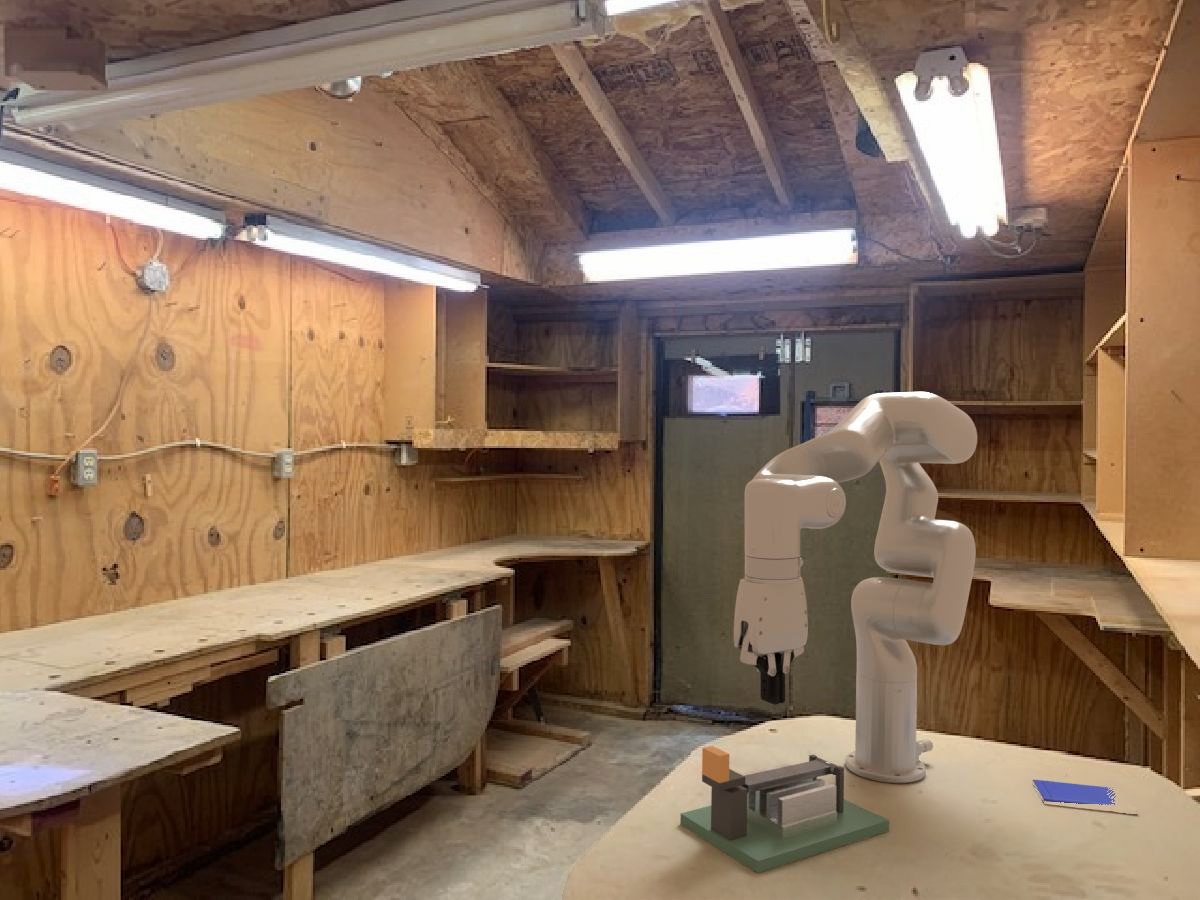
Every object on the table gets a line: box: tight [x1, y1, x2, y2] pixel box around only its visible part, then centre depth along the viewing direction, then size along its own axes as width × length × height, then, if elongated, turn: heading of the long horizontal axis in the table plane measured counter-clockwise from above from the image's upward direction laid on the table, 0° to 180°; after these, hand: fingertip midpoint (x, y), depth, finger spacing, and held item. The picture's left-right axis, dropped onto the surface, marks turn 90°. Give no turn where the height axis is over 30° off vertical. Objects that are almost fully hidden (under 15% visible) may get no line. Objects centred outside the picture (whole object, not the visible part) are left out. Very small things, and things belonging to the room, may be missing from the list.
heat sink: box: [740, 763, 837, 839], centre depth 120 cm, size 10×10×5 cm
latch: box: [701, 745, 745, 791], centre depth 114 cm, size 4×4×4 cm
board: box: [679, 754, 890, 874], centre depth 120 cm, size 24×16×8 cm, turn 121°
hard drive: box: [1032, 779, 1116, 805], centre depth 132 cm, size 2×8×12 cm
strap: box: [741, 756, 838, 793], centre depth 120 cm, size 17×4×1 cm, turn 121°
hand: (772, 700), depth 119 cm, fingers closed
